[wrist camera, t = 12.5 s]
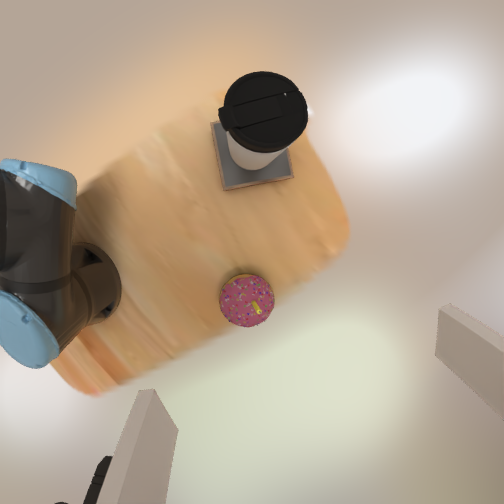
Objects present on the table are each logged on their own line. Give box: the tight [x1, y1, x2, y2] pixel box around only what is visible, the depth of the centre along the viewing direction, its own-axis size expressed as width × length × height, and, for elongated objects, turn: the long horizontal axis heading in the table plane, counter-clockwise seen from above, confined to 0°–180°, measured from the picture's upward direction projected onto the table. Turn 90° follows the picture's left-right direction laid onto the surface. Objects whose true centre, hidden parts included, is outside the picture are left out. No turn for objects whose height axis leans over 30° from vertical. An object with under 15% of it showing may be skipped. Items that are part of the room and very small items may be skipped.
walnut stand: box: [210, 121, 294, 191], centre depth 40 cm, size 10×10×6 cm
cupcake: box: [219, 274, 274, 327], centre depth 41 cm, size 9×8×12 cm
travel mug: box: [218, 71, 308, 170], centre depth 27 cm, size 6×7×20 cm
